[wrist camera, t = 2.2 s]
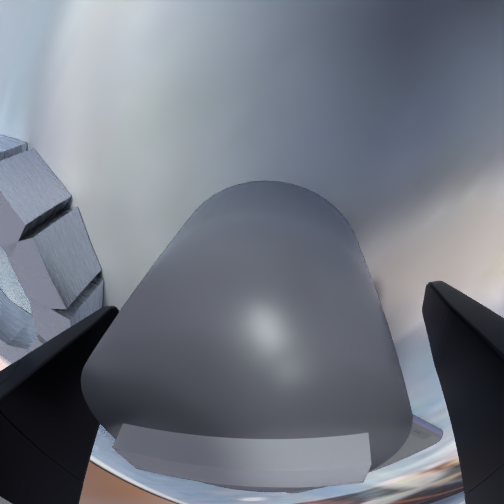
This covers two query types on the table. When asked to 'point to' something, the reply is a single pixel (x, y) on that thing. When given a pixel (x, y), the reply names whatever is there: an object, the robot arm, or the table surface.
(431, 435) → the smartphone
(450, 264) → the table surface
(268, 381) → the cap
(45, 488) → the robot arm
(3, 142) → the segmented grey ring
